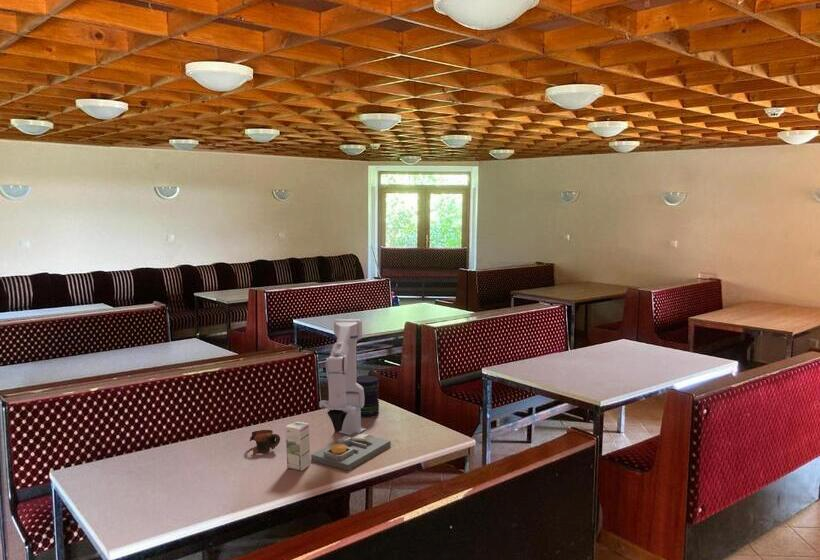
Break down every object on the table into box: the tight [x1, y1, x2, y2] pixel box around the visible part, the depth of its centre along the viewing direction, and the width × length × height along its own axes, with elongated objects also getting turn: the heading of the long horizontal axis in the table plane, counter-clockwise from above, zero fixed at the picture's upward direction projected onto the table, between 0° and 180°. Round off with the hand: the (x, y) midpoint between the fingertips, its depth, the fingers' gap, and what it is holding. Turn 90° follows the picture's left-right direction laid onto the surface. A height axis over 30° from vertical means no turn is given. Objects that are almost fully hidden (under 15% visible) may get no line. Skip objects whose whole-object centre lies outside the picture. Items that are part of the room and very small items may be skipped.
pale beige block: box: [337, 435, 352, 447], centre depth 212 cm, size 3×4×2 cm
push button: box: [331, 444, 346, 455], centre depth 204 cm, size 5×5×2 cm
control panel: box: [310, 432, 392, 471], centre depth 210 cm, size 16×24×3 cm, turn 147°
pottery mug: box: [249, 429, 281, 455], centre depth 214 cm, size 12×10×8 cm
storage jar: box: [356, 374, 380, 418], centre depth 249 cm, size 10×10×15 cm
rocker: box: [352, 433, 374, 441], centre depth 215 cm, size 6×4×1 cm
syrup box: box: [285, 421, 311, 472], centre depth 199 cm, size 6×6×14 cm
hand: (338, 430), depth 203 cm, fingers closed
